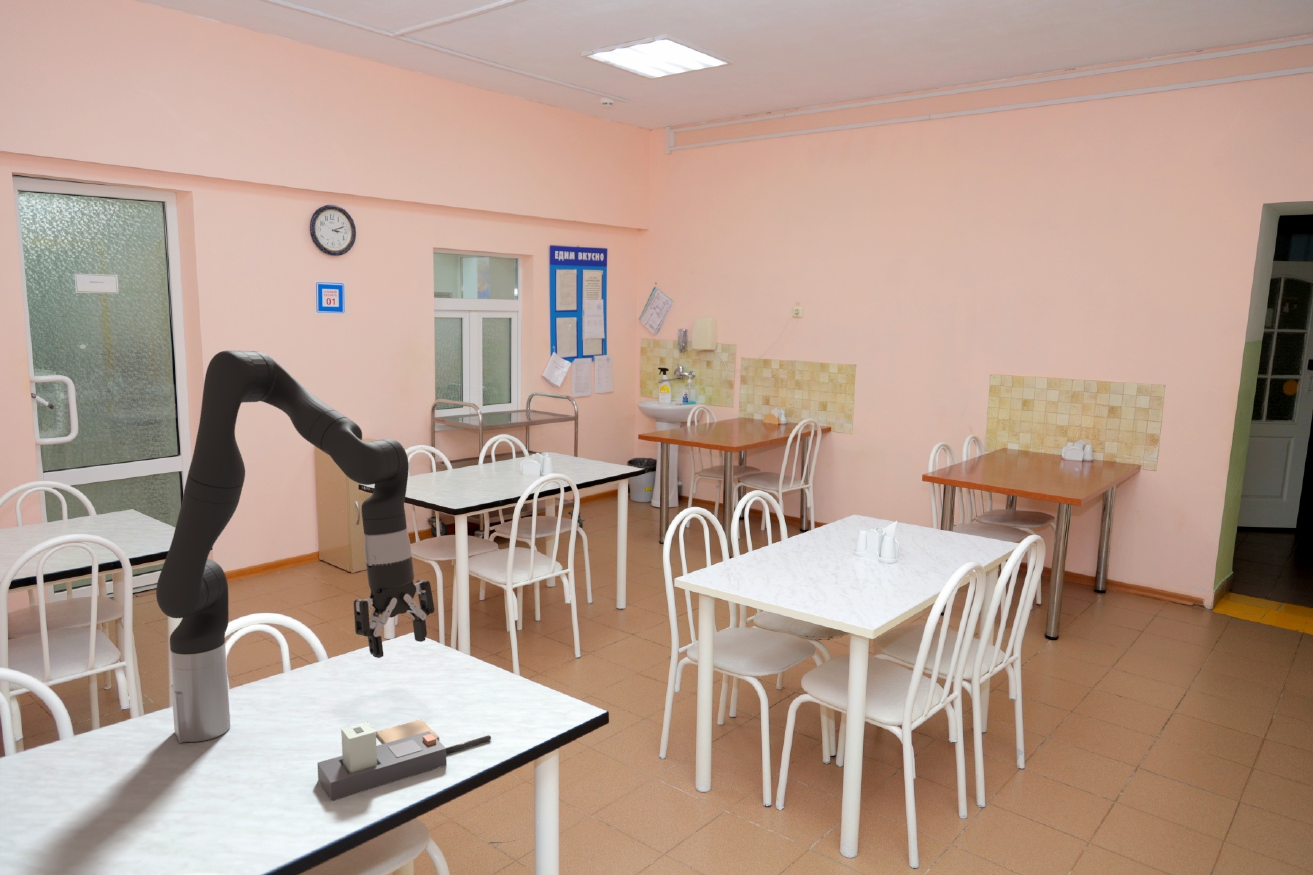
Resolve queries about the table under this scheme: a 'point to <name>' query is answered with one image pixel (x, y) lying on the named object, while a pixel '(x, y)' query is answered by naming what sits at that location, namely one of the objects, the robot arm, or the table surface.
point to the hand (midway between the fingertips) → (399, 648)
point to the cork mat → (404, 731)
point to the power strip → (388, 764)
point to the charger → (359, 747)
